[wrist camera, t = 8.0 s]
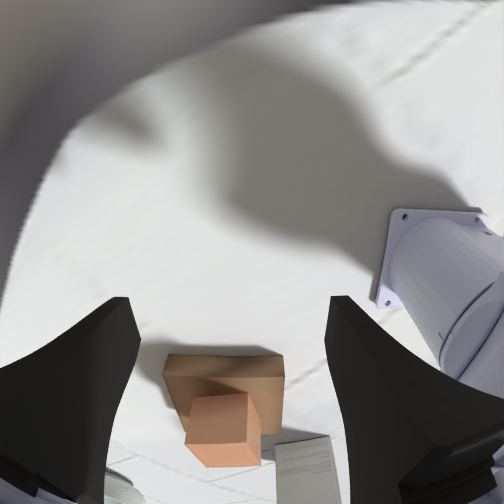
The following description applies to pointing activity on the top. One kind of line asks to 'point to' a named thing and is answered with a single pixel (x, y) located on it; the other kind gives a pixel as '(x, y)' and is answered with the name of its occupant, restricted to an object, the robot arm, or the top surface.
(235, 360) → the walnut slab
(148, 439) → the top surface
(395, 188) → the top surface
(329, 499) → the supplement box
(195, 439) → the terracotta cube
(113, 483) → the cereal bowl
